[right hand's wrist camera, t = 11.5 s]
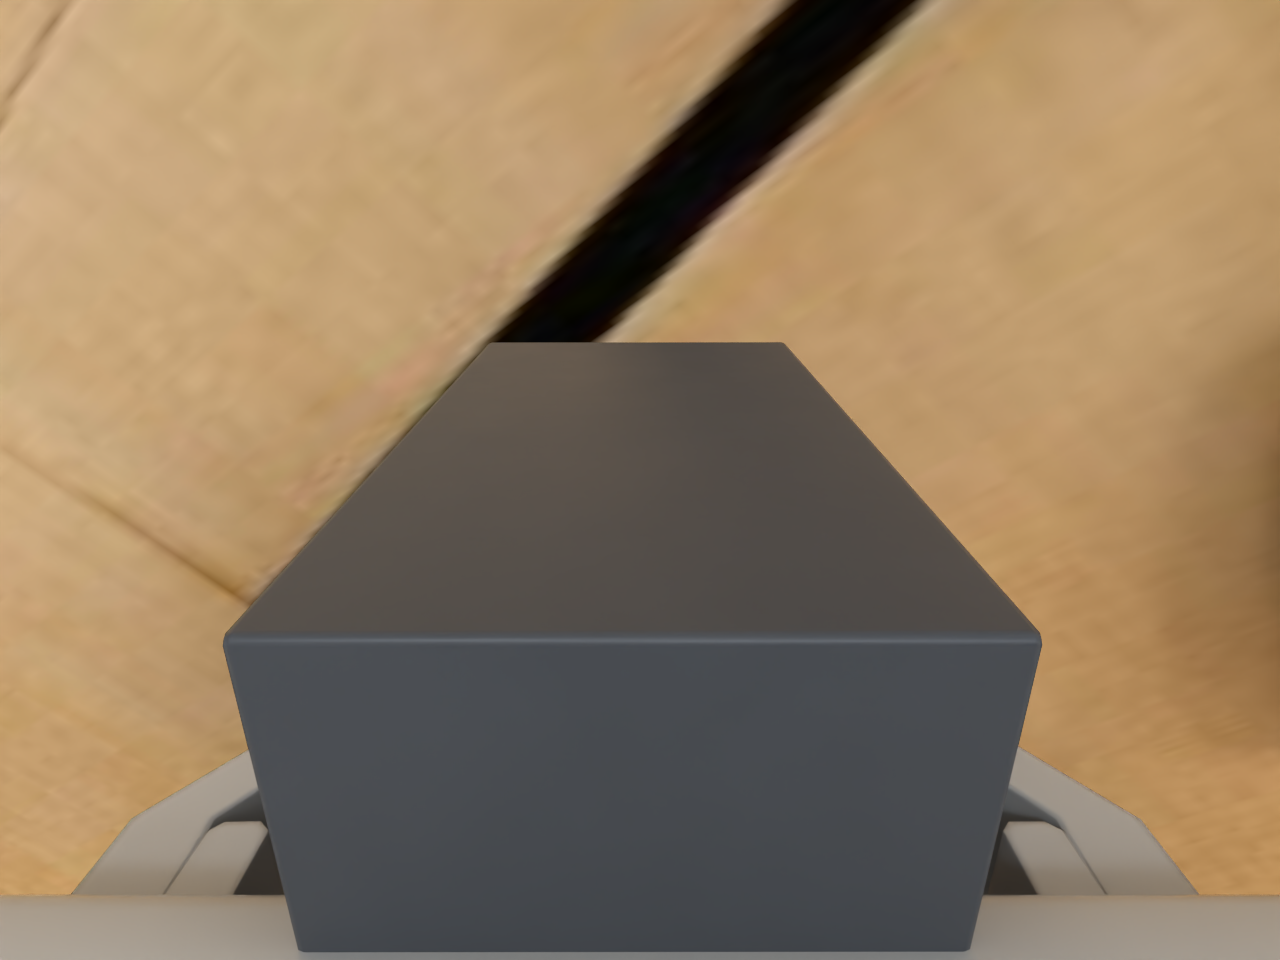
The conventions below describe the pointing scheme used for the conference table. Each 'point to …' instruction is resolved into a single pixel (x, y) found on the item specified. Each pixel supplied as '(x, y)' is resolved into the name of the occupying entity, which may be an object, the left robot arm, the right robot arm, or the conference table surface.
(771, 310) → the conference table surface
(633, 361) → the bar
